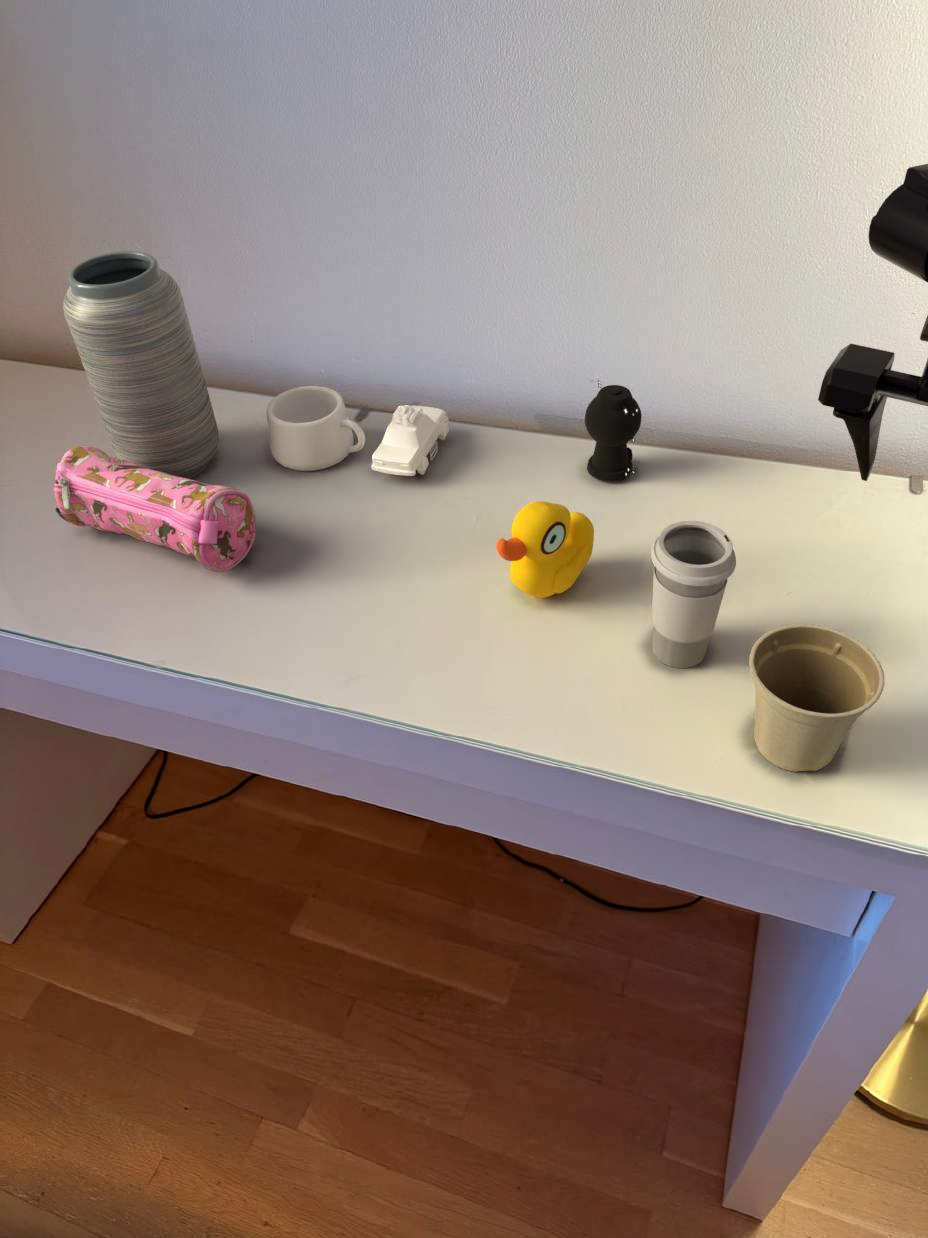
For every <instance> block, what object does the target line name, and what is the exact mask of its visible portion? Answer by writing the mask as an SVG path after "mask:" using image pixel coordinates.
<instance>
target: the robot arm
mask: <svg viewBox="0 0 928 1238" xmlns="http://www.w3.org/2000/svg"><path fill="white" fill-rule="evenodd" d="M876 212H877V213H876V214H875V215H874V216H872V218H871V220H870V224H869V227H868V245H869V246H870V249H871V251H872V252H873V253H874V254H875V255H876V256H878V257H880V258H882V259H883V260H885V261H887V262H889V263H891V264H893V265H895V266H897V267H898V268H900V269H901V270H904V271H906V272H907V273H909V274H911V275H913V276H915V277H917V278H918V279H920V280H922V281H924V282H926V283H928V163H924V164H920V165H919V164H918V165H914V166H910V167H908V168H907V169H906V172H905V177H904V180H903V183H902V184H901V185H899V186H898V187H897V188H895V189H894V190H893V191H891V193H890V194H889V195H888V196H887V197H886V198H885V199H884V201H883V202H882V203H881V205H880V206H879V208H878V209H877V211H876ZM919 339H920V341H921V342H926V343H928V315H927V316H926V318H925V321H924V324H923V327H922V330H921V332H920V336H919ZM895 355H896V353H895V352H894V351H893V352H892V351H888V350H884V349H880V348H879V349H878V348H874V347H869V346H865V345H860V344H855V343H849V344H848V345H846V346H845V347H843V348H841V349H840V351H839V352H838V353H837V356H836V357H835V358H834V359H833V361H832V362H831V364H830V365H829V366H828V368H827V369H826V372H825V373H824V376H823V378H822V380H821V381H822V382H821V384H820V385H821V386H820V390H819V393H818V398H817V401H818V402H819V403H820V404H821V405H822V406H825V407H829V408H832V409H833V410H832V415H833V417H835V418H837V419H841V420H843V422H844V424H845V426H846V427H845V428H846V429H847V432H848V434H849V437H850V439H851V442H852V444H853V449H854V452H855V456H856V461H857V465H858V469H859V474H860V478H861V479H860V480H861V481H864V482H867V481H868V479H869V477H870V476H871V473H872V469H873V466H874V463H875V460H876V455H877V450H878V443H879V438H880V432H881V427H882V426H881V425H882V420H883V415H884V410H885V406H886V403H887V400H888V398H890V399H895V400H897V401H898V400H899V401H903V402H909V403H911V404H916V405H920V406H925V407H928V358H927V359H926V361H925V365H924V368H923V370H922V371H923V372H922V374H921V376H919V375H915V374H911V373H906V372H901V371H898V370H893V369H892V368H893V365H894V362H895Z"/></svg>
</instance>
